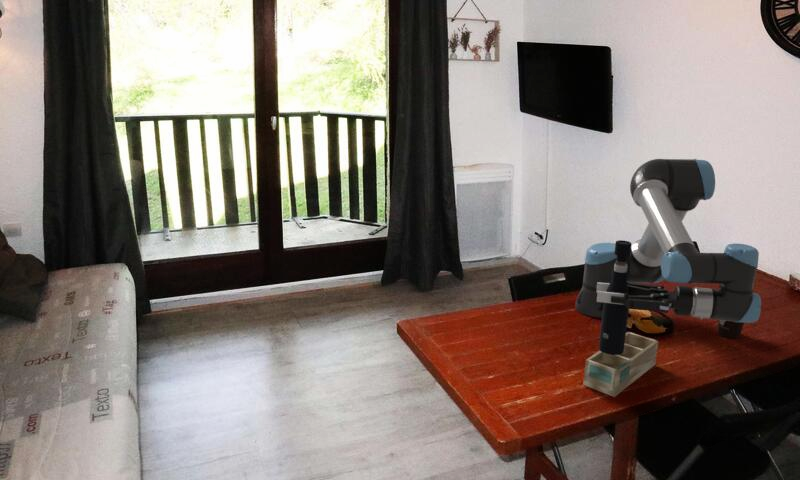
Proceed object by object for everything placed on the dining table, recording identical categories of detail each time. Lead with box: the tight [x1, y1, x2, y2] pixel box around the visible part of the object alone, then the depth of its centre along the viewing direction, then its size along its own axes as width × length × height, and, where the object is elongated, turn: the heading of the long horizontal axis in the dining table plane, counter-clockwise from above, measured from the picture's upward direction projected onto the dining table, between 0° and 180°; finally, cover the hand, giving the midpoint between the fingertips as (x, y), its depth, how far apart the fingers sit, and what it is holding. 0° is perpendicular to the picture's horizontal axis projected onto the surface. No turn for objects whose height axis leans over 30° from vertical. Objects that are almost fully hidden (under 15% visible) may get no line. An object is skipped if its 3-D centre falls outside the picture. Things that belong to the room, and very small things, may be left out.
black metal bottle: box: [598, 239, 632, 355], centre depth 174 cm, size 6×6×30 cm
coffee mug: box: [717, 319, 745, 340], centre depth 215 cm, size 12×9×10 cm
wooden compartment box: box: [582, 331, 659, 398], centre depth 186 cm, size 9×26×8 cm, turn 137°
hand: (597, 291), depth 175 cm, fingers closed on black metal bottle, 6 cm apart
